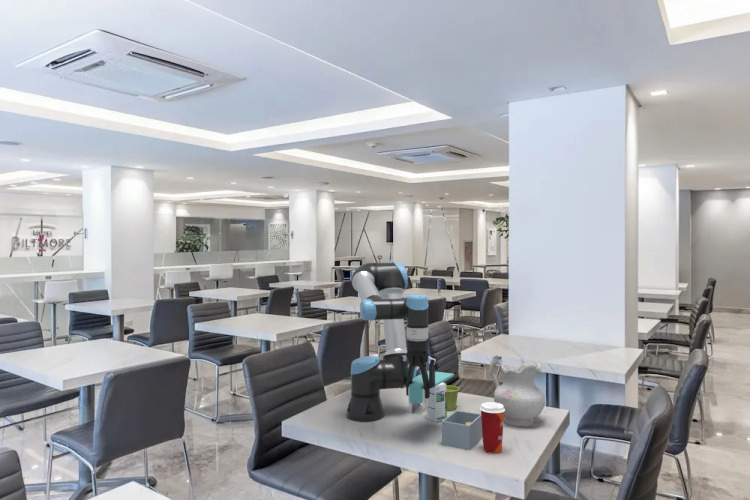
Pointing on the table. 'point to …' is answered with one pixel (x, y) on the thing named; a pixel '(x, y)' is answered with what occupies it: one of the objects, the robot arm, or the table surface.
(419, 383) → the snap lid
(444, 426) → the parts tub
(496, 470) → the table surface
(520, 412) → the ceramic pitcher
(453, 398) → the plant pot
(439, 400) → the syrup box
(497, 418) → the coffee cup
